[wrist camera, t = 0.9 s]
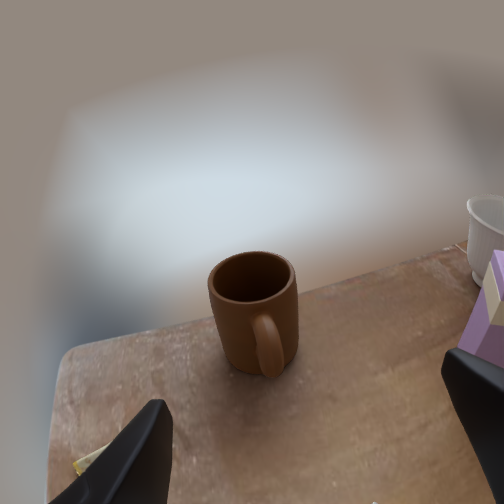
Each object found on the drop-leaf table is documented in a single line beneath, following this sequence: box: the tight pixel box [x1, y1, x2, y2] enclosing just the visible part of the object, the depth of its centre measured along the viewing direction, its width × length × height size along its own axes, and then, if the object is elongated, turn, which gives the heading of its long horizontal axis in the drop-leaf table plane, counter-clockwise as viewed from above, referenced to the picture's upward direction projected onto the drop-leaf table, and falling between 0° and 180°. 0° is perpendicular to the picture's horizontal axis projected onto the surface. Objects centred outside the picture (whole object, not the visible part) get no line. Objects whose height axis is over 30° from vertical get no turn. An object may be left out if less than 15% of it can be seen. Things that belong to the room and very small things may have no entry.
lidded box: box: [457, 250, 504, 368], centre depth 21 cm, size 5×4×12 cm
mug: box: [208, 251, 299, 377], centre depth 27 cm, size 12×8×9 cm, turn 10°
